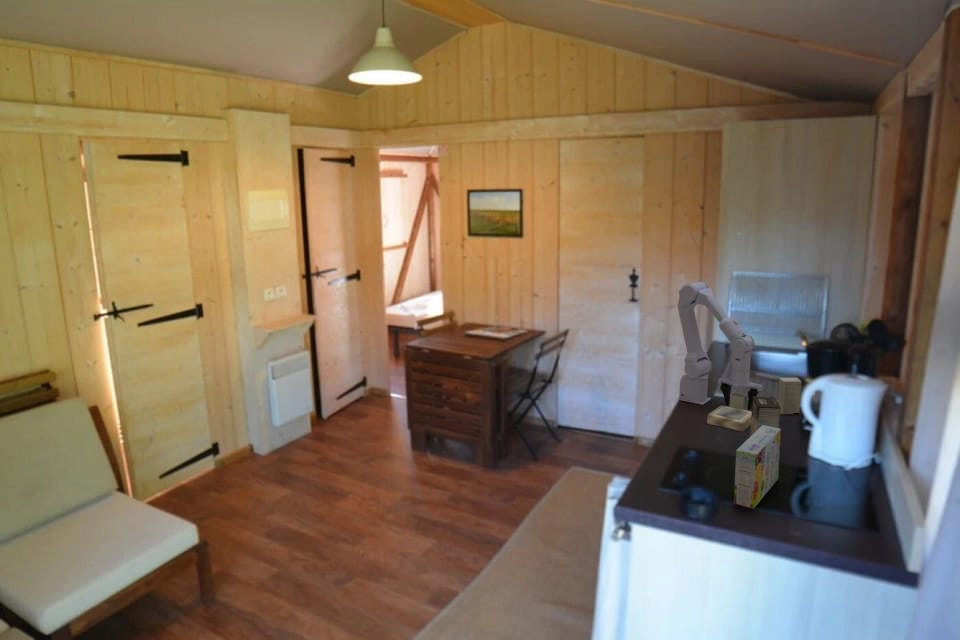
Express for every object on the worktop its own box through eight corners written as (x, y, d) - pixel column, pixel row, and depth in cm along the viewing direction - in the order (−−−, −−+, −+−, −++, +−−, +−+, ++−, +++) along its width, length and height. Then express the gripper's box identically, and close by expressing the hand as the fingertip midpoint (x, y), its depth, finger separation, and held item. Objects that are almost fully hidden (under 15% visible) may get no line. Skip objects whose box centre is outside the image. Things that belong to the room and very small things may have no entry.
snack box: (757, 474, 184) (761, 423, 181) (778, 479, 181) (783, 428, 178) (731, 504, 168) (735, 449, 165) (754, 510, 165) (758, 454, 162)
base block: (707, 423, 222) (707, 414, 221) (720, 413, 231) (721, 404, 230) (743, 431, 214) (743, 422, 214) (755, 420, 223) (756, 412, 222)
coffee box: (748, 444, 204) (752, 395, 201) (770, 446, 203) (774, 396, 199) (754, 457, 195) (758, 405, 192) (777, 458, 194) (781, 407, 191)
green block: (729, 411, 233) (730, 395, 231) (733, 407, 236) (735, 392, 235) (742, 414, 230) (743, 398, 228) (747, 410, 233) (748, 394, 232)
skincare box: (794, 410, 232) (797, 377, 230) (799, 414, 228) (802, 381, 225) (776, 409, 233) (778, 377, 230) (780, 414, 229) (783, 380, 226)
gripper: (715, 368, 231) (713, 405, 234) (758, 376, 222) (755, 414, 225) (723, 364, 236) (721, 400, 239) (765, 371, 227) (762, 408, 230)
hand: (738, 406), depth 232 cm, fingers open, 7 cm apart
